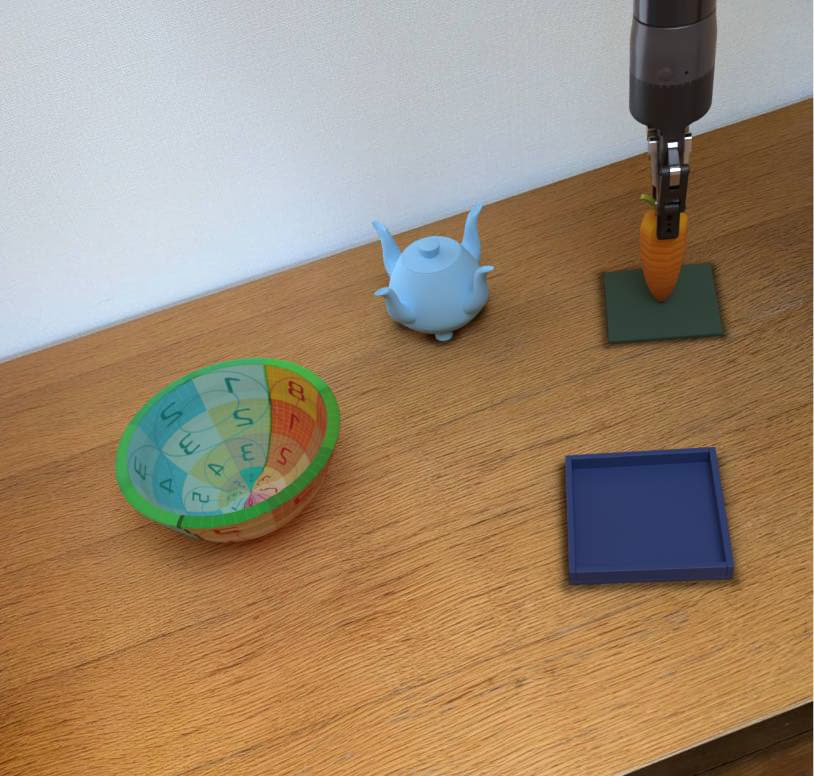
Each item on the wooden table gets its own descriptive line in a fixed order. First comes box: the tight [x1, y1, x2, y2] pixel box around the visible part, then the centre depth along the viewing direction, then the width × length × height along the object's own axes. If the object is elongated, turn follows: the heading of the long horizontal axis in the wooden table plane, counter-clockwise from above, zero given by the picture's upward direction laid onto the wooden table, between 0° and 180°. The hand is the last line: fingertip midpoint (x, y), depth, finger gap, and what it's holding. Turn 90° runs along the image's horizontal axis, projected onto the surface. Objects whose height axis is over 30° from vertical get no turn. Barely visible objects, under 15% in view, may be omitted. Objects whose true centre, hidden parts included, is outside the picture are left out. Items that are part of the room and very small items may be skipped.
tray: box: [564, 446, 735, 586], centre depth 92 cm, size 14×14×2 cm
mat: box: [603, 262, 724, 345], centre depth 111 cm, size 12×12×1 cm
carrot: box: [639, 193, 689, 302], centre depth 105 cm, size 5×5×15 cm
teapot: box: [371, 202, 495, 342], centre depth 112 cm, size 13×13×10 cm
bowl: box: [114, 357, 341, 543], centre depth 99 cm, size 22×22×10 cm
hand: (665, 220), depth 102 cm, fingers closed on carrot, 4 cm apart
